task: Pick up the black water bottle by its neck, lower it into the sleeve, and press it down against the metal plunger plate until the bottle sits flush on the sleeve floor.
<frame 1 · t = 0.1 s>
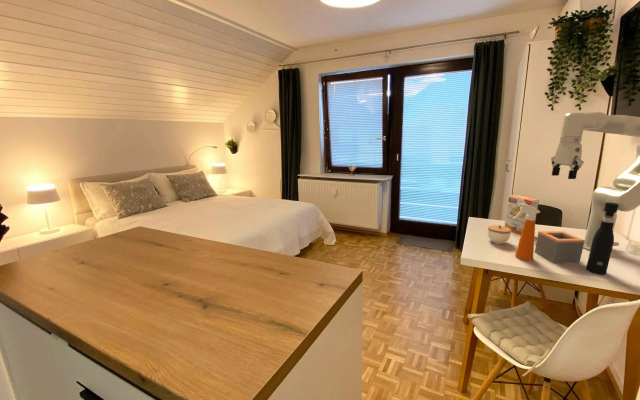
hand: (563, 177, 141), 37 cm above the table, tool pointing down, fingers open, 9 cm apart
spray bottle: (519, 257, 141), on the table
sleeve: (556, 257, 141), on the table
lidded jar: (497, 242, 160), on the table
plunger plate: (557, 249, 140), point 4 cm above the table, slide at 4.0 cm
cracker box: (517, 232, 175), on the table
black water bottle: (595, 271, 127), on the table
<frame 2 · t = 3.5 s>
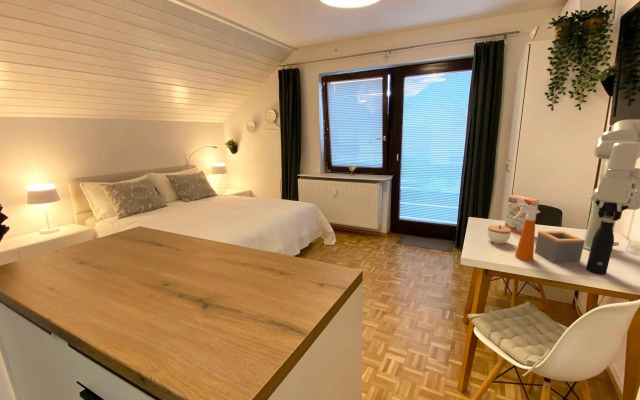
hand: (608, 218, 121), 24 cm above the table, tool pointing down, fingers closed on black water bottle, 3 cm apart
black water bottle: (595, 271, 127), on the table, touching gripper
everything else where it was.
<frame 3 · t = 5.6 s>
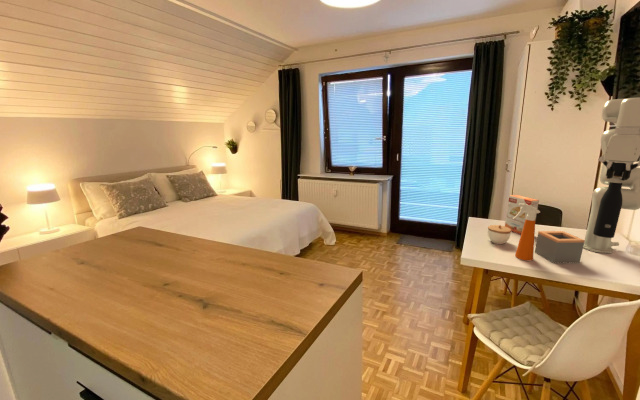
hand: (616, 178, 118), 40 cm above the table, tool pointing down, fingers closed on black water bottle, 3 cm apart
black water bottle: (603, 235, 124), point 16 cm above the table, touching gripper
everything else where it was.
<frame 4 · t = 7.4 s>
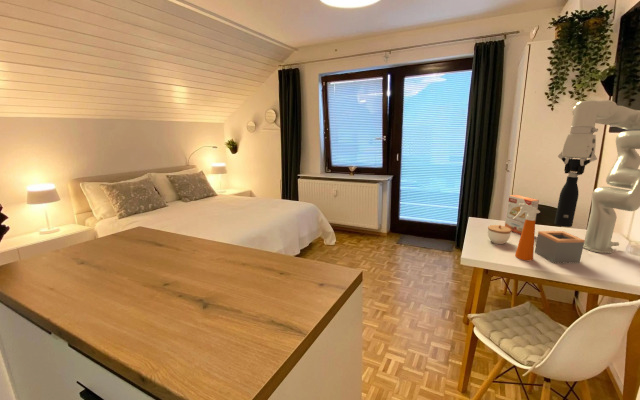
hand: (573, 173, 131), 40 cm above the table, tool pointing down, fingers closed on black water bottle, 3 cm apart
black water bottle: (563, 225, 137), point 16 cm above the table, touching gripper
everything else where it was.
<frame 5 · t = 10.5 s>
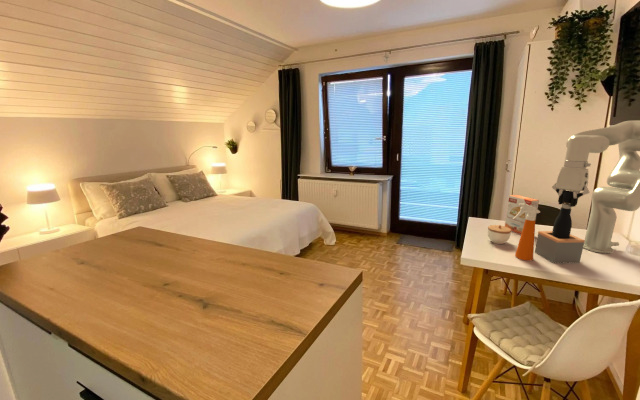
hand: (566, 204, 134), 26 cm above the table, tool pointing down, fingers closed on black water bottle, 3 cm apart
plunger plate: (556, 257, 141), resting on sleeve, slide at -0.1 cm, touching black water bottle
black water bottle: (556, 254, 140), point 2 cm above the table, touching gripper, plunger plate
everything else where it was.
when the fingers open (26 cm above the table, at t = 11.5 s): black water bottle stays where it is, resting on plunger plate.
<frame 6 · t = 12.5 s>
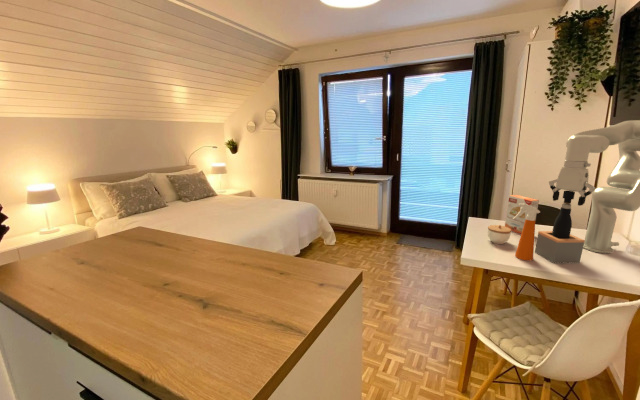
hand: (567, 202, 134), 27 cm above the table, tool pointing down, fingers open, 9 cm apart
black water bottle: (556, 254, 140), point 2 cm above the table, touching plunger plate
everything else where it was.
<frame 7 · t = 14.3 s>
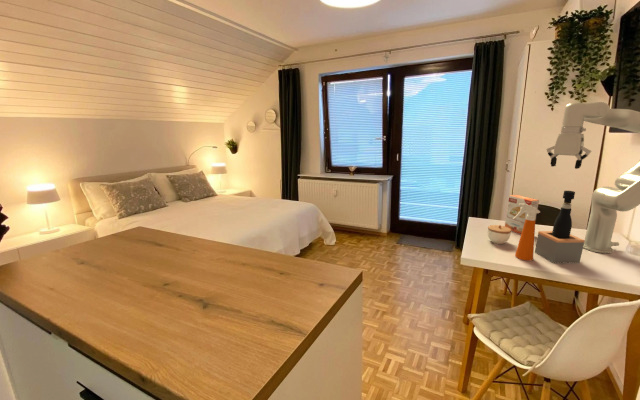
hand: (564, 167, 143), 41 cm above the table, tool pointing down, fingers open, 9 cm apart
nothing on the table moved.
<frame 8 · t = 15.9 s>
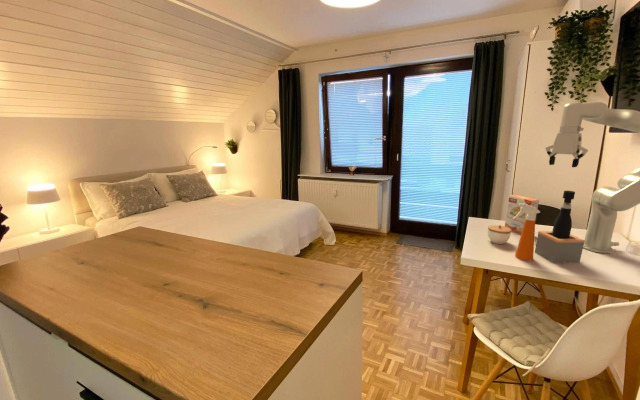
hand: (562, 165, 146), 41 cm above the table, tool pointing down, fingers open, 9 cm apart
nothing on the table moved.
at the end: plunger plate slide at -0.1 cm; black water bottle 0.1 cm off-centre on the sleeve, point 1.8 cm above the sleeve's base; black water bottle tilted 0° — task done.
